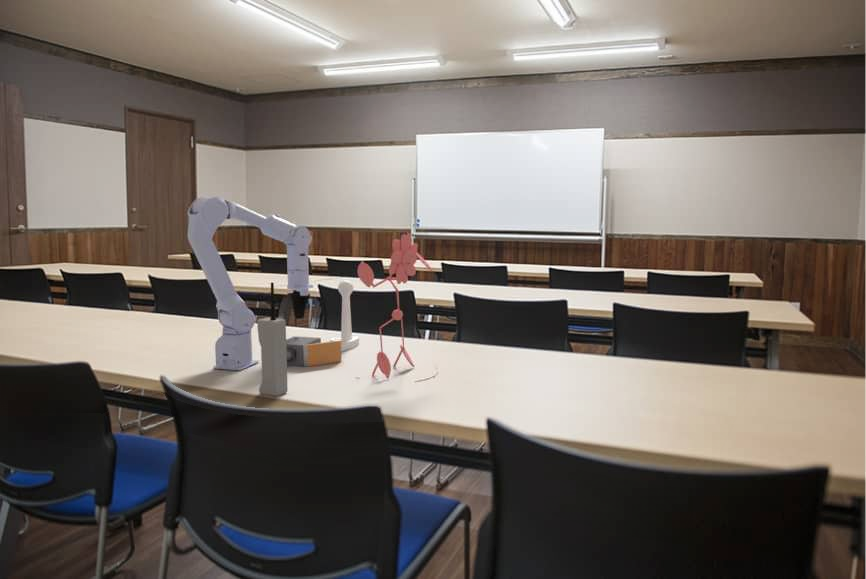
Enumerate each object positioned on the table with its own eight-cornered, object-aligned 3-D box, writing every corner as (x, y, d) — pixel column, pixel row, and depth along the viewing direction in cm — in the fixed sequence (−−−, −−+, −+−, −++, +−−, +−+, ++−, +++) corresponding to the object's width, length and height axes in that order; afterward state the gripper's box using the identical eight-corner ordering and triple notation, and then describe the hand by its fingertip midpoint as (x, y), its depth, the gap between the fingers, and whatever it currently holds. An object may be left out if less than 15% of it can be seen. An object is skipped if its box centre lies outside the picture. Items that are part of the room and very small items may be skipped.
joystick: (343, 352, 184) (342, 282, 182) (320, 349, 187) (319, 281, 184) (362, 344, 194) (361, 278, 192) (341, 342, 197) (340, 277, 195)
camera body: (301, 367, 166) (301, 344, 166) (273, 365, 169) (273, 342, 168) (321, 357, 177) (320, 336, 176) (294, 355, 180) (294, 334, 179)
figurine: (348, 381, 153) (349, 234, 148) (408, 360, 175) (411, 231, 170) (401, 392, 145) (404, 237, 140) (457, 368, 167) (461, 233, 162)
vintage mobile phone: (270, 389, 146) (267, 280, 143) (287, 392, 144) (284, 281, 141) (259, 393, 143) (255, 282, 140) (276, 397, 141) (273, 283, 138)
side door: (304, 366, 167) (304, 345, 166) (303, 366, 167) (302, 345, 167) (341, 361, 172) (341, 341, 172) (339, 360, 173) (339, 340, 172)
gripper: (318, 271, 172) (320, 321, 174) (306, 266, 185) (307, 313, 187) (292, 272, 170) (294, 323, 171) (281, 267, 183) (282, 314, 184)
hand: (299, 318), depth 179 cm, fingers closed
